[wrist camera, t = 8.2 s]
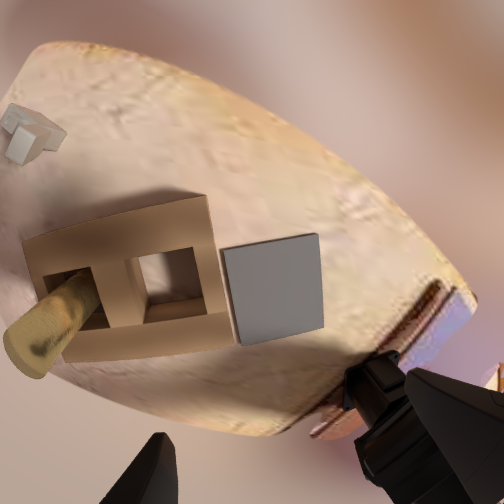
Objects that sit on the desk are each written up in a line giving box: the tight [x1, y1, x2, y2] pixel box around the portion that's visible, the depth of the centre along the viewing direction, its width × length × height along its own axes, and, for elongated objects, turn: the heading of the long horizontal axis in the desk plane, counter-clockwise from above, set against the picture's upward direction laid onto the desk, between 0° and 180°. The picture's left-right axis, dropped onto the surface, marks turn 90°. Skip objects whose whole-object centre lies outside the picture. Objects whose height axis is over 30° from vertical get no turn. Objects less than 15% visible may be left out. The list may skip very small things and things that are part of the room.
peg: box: [3, 268, 101, 379], centre depth 14 cm, size 3×3×10 cm
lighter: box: [0, 103, 67, 166], centre depth 11 cm, size 7×2×8 cm, turn 53°
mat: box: [223, 234, 324, 346], centre depth 20 cm, size 8×7×1 cm
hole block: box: [22, 195, 234, 363], centre depth 17 cm, size 10×14×3 cm
